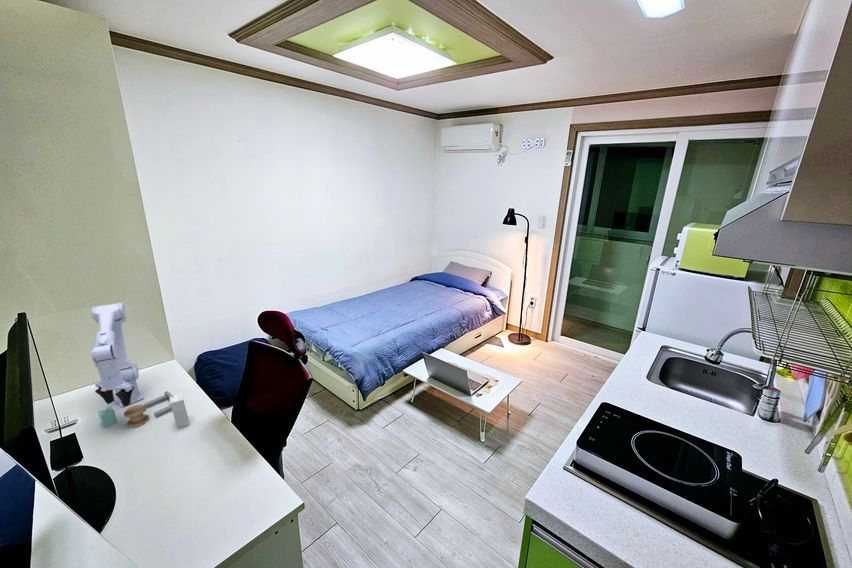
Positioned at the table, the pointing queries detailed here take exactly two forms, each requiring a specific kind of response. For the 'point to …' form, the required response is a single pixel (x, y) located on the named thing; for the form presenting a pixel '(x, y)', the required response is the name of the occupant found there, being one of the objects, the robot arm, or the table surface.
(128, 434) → the table surface
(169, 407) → the gray u-shaped block
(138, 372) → the robot arm
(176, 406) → the skincare box
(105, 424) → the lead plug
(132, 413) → the spool
